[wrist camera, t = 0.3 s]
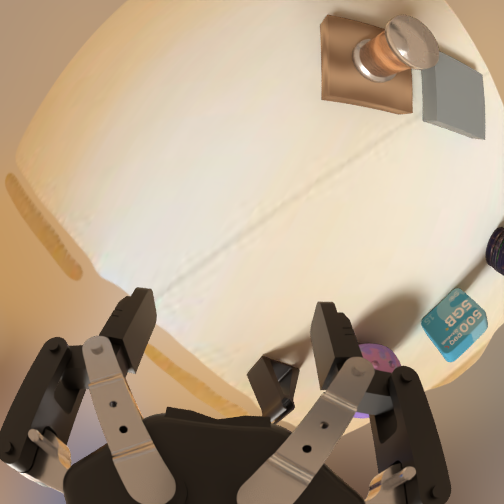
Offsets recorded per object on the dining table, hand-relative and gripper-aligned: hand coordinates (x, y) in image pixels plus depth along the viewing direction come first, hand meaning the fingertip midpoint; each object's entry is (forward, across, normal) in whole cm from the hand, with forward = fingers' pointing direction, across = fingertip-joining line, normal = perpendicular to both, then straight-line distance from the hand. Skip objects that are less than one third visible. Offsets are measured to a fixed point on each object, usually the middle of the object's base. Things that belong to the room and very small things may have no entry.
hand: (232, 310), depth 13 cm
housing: (+26, -16, -20) cm, 36 cm away
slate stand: (+31, -33, -20) cm, 50 cm away
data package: (+28, -43, +22) cm, 56 cm away
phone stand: (+25, -7, +37) cm, 45 cm away
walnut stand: (+30, -15, -20) cm, 39 cm away
